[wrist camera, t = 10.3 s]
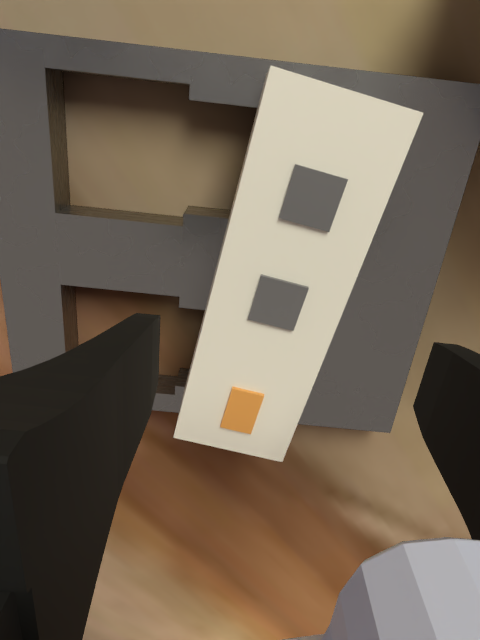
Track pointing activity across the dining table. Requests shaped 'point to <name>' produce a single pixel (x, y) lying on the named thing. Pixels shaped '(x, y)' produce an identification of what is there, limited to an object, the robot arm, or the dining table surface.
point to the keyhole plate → (217, 217)
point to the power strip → (289, 258)
